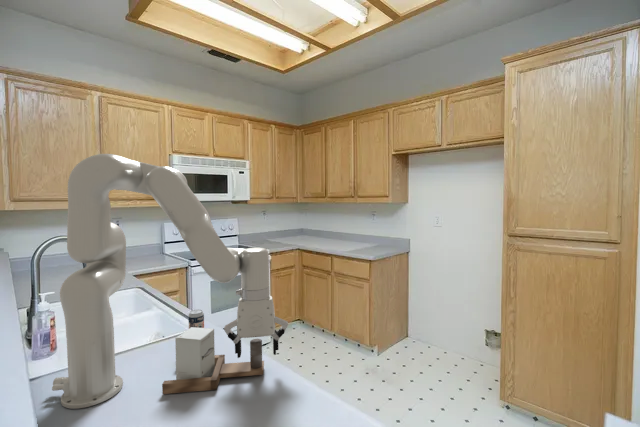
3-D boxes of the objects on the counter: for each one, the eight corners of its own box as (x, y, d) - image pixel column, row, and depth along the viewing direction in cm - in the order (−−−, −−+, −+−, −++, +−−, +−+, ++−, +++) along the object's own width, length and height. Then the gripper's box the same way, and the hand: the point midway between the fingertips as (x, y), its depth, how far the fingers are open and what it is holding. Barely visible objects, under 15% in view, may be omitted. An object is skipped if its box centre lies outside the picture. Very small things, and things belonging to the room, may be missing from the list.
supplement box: (201, 388, 82) (199, 340, 81) (175, 384, 83) (174, 337, 82) (215, 372, 89) (215, 328, 88) (192, 369, 90) (191, 326, 90)
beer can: (192, 353, 100) (191, 315, 99) (186, 347, 103) (185, 311, 103) (207, 348, 103) (206, 311, 102) (201, 343, 107) (200, 307, 106)
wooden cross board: (162, 394, 79) (161, 359, 78) (178, 366, 91) (177, 336, 91) (262, 385, 82) (262, 352, 82) (264, 359, 95) (264, 330, 94)
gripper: (220, 299, 82) (222, 363, 83) (287, 295, 84) (289, 358, 85) (225, 291, 89) (227, 350, 90) (286, 287, 92) (288, 345, 93)
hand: (257, 353), depth 88 cm, fingers open, 9 cm apart
